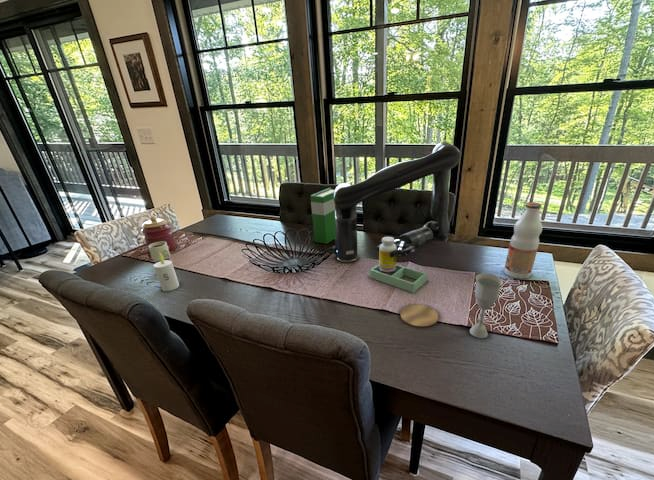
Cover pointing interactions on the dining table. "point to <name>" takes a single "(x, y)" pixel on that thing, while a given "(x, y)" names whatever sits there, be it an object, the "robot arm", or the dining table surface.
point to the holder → (399, 273)
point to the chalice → (485, 299)
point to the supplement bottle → (387, 255)
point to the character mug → (157, 248)
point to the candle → (166, 274)
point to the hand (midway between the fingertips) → (383, 252)
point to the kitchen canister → (158, 232)
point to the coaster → (419, 315)
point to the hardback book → (323, 216)
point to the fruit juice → (524, 243)
